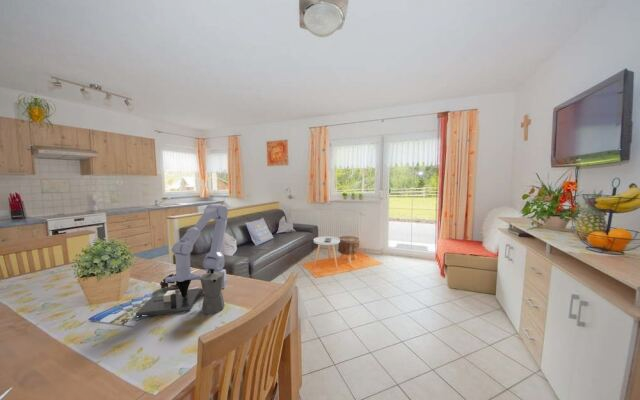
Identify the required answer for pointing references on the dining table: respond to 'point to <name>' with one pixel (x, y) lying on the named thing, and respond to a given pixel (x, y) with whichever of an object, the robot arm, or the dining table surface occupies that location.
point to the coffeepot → (212, 292)
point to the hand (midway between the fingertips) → (184, 295)
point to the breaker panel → (160, 307)
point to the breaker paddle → (168, 296)
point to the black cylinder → (173, 300)
